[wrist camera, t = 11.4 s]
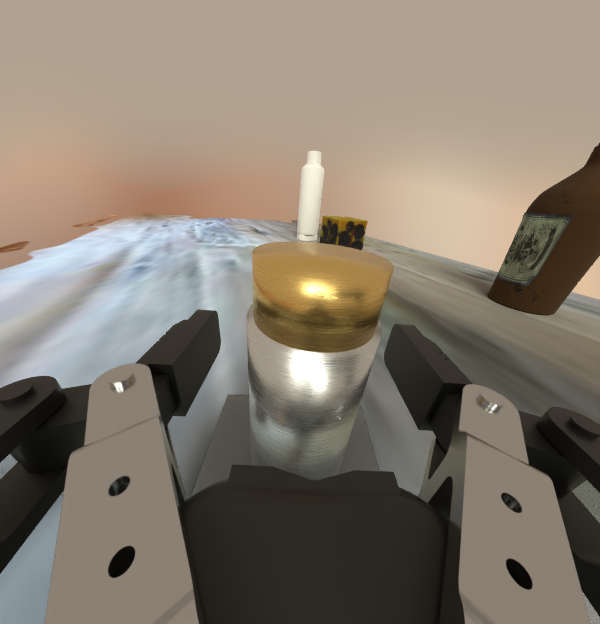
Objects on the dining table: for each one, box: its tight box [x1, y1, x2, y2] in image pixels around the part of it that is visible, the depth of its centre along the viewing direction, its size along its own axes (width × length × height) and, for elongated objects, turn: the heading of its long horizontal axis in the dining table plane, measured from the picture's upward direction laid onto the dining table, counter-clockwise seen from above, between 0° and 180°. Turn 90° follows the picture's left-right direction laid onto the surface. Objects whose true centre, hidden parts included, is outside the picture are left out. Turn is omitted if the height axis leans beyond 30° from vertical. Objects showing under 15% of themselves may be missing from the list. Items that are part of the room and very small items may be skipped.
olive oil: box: [488, 143, 600, 315], centre depth 34 cm, size 11×11×25 cm
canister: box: [247, 242, 394, 480], centre depth 9 cm, size 4×4×12 cm
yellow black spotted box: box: [320, 216, 367, 250], centre depth 67 cm, size 10×10×10 cm
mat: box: [190, 395, 379, 497], centre depth 12 cm, size 10×10×1 cm
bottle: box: [297, 151, 325, 241], centre depth 79 cm, size 8×8×28 cm
